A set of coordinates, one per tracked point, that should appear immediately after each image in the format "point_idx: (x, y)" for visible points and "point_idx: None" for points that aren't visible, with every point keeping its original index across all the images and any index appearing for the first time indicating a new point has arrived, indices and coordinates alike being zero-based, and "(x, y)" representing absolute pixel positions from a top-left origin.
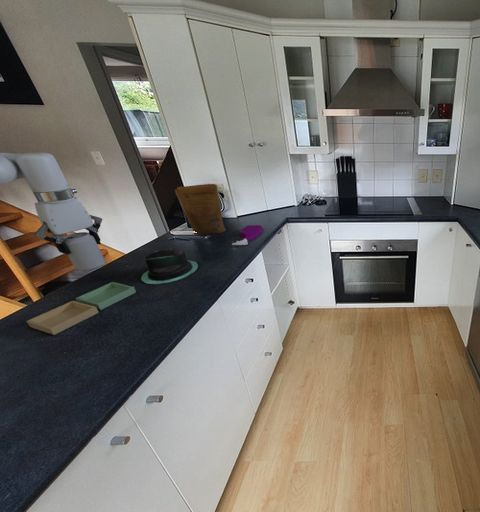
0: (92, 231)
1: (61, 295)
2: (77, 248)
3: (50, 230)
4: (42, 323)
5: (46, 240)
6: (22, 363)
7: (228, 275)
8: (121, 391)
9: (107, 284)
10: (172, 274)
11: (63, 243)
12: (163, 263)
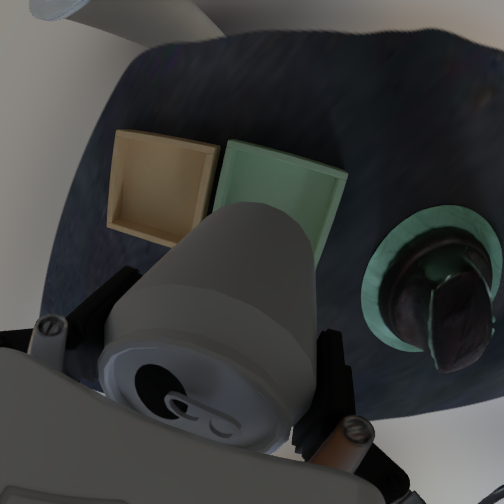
0: (306, 460)
1: (276, 34)
2: (155, 376)
3: (4, 365)
4: (137, 148)
5: (11, 337)
6: (67, 243)
7: (379, 418)
8: (96, 389)
9: (328, 170)
10: (393, 332)
11: (90, 375)
12: (426, 324)
